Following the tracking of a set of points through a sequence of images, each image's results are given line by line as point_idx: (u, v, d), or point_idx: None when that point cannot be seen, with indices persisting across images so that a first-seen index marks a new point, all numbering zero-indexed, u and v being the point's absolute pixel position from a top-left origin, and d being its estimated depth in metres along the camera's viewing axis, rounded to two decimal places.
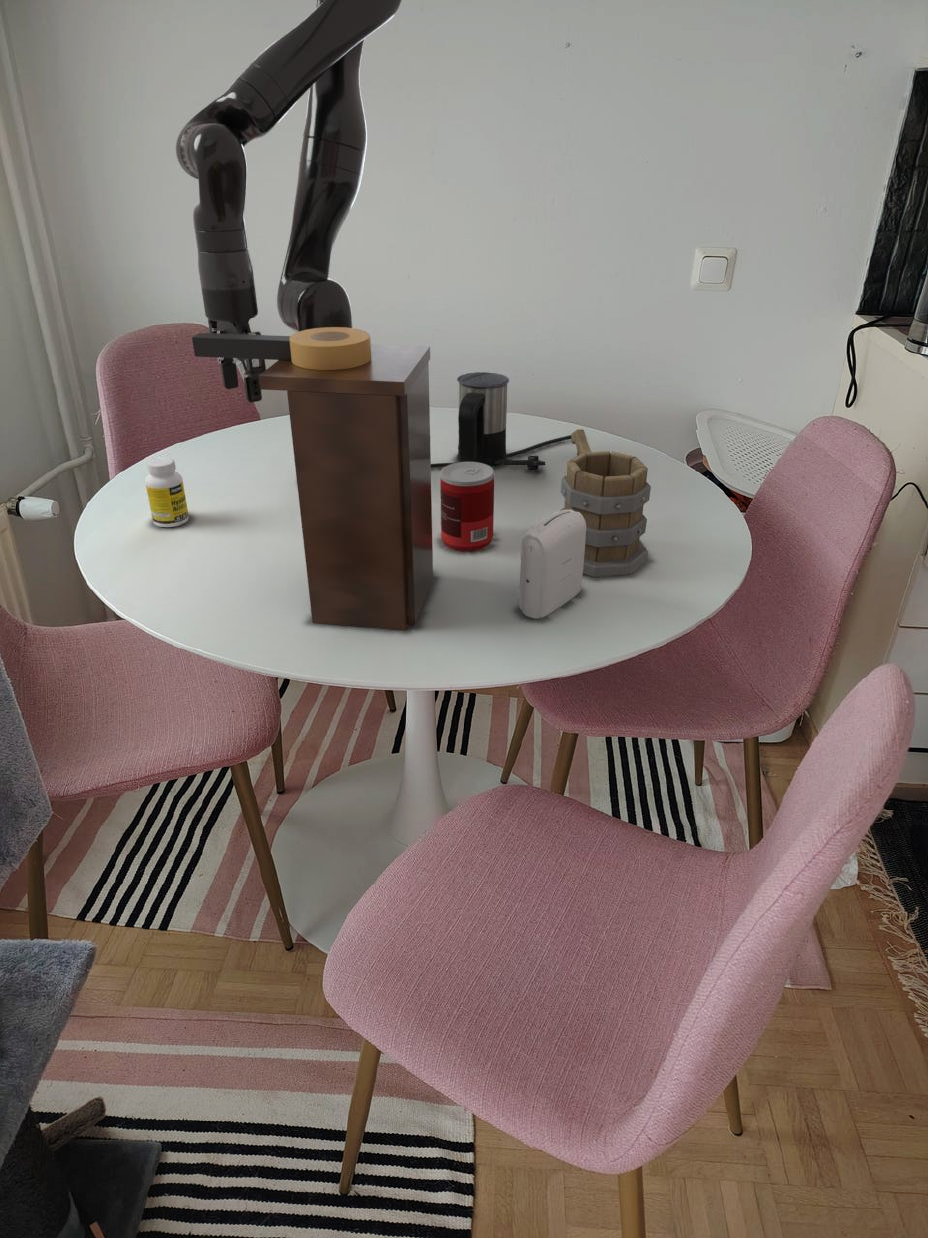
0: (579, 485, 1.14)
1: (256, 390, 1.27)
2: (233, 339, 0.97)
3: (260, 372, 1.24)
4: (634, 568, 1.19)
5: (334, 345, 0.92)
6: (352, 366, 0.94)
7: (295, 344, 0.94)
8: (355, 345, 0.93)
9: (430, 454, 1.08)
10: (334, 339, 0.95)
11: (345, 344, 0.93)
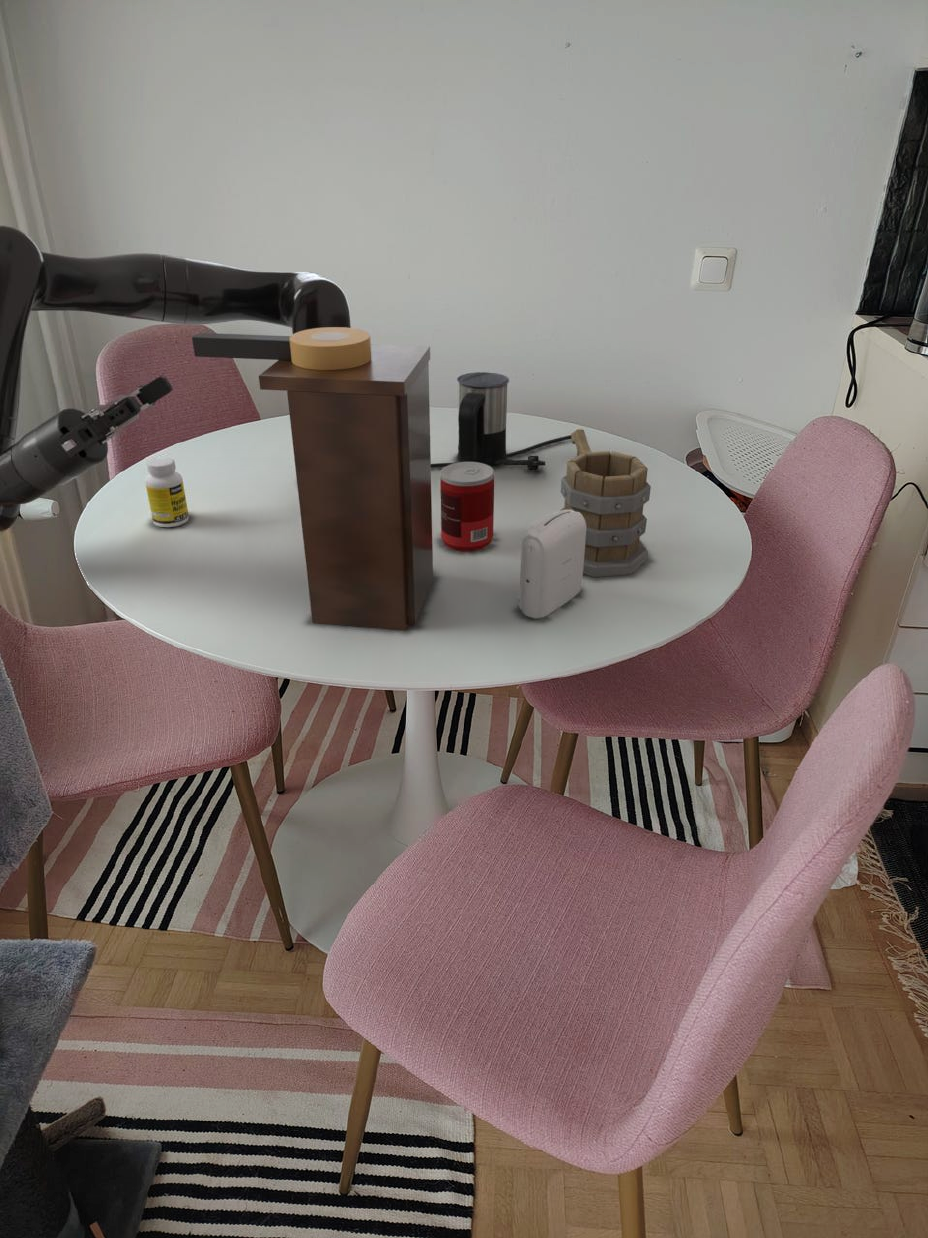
0: (579, 485, 1.14)
1: (119, 412, 0.99)
2: (233, 339, 0.97)
3: (91, 427, 0.98)
4: (634, 568, 1.19)
5: (334, 345, 0.92)
6: (352, 366, 0.94)
7: (295, 344, 0.94)
8: (355, 345, 0.93)
9: (430, 454, 1.08)
10: (334, 339, 0.95)
11: (345, 344, 0.93)
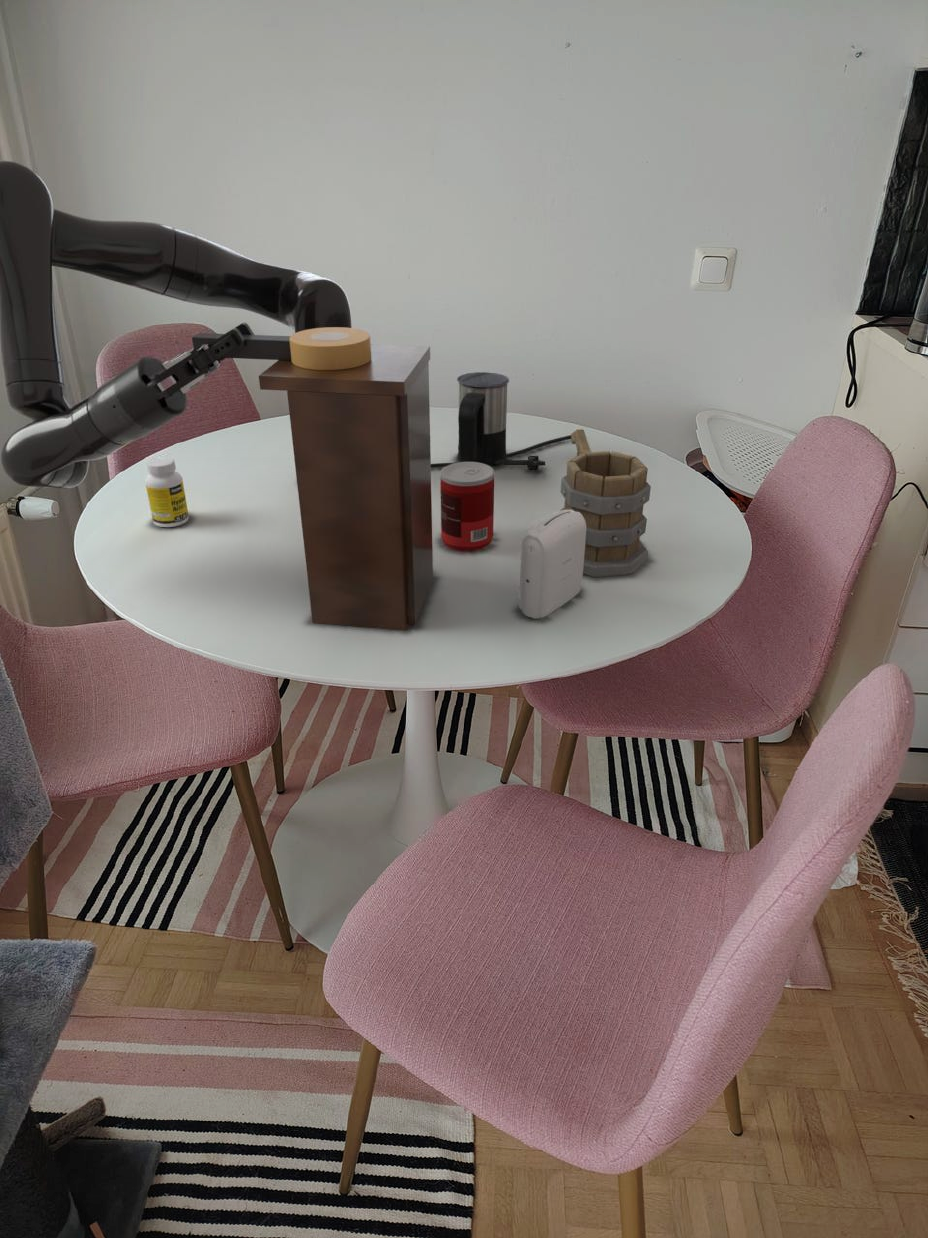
0: (579, 485, 1.14)
1: (224, 345, 0.96)
2: None
3: (197, 360, 0.95)
4: (634, 568, 1.19)
5: (334, 345, 0.92)
6: (352, 366, 0.94)
7: (295, 344, 0.94)
8: (355, 345, 0.93)
9: (430, 454, 1.08)
10: (334, 339, 0.95)
11: (345, 344, 0.93)
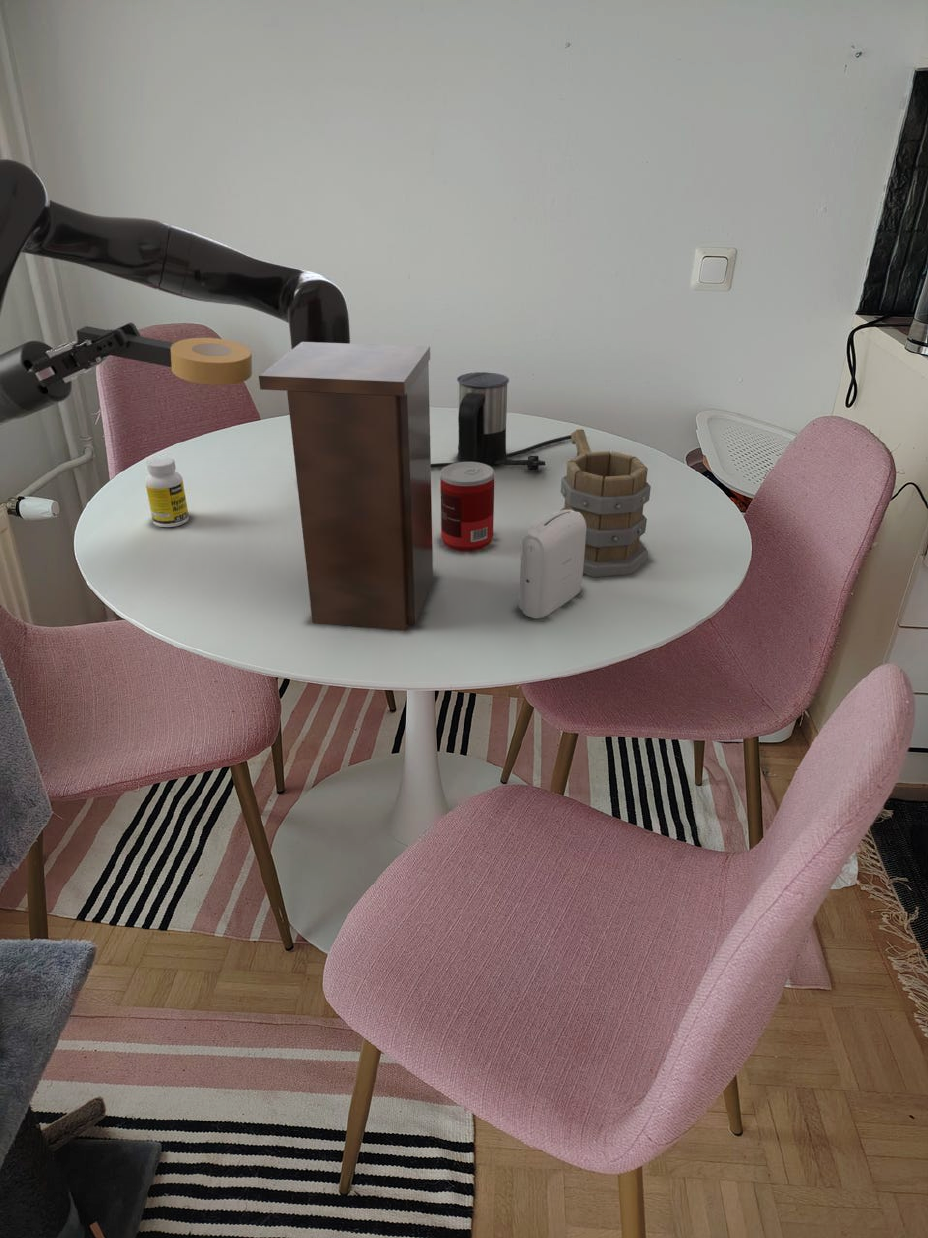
0: (579, 485, 1.14)
1: (107, 344, 0.98)
2: None
3: (77, 355, 0.97)
4: (634, 568, 1.19)
5: (211, 361, 0.95)
6: (228, 383, 0.97)
7: (174, 355, 0.96)
8: (232, 364, 0.96)
9: (430, 454, 1.08)
10: (214, 354, 0.97)
11: (222, 362, 0.96)
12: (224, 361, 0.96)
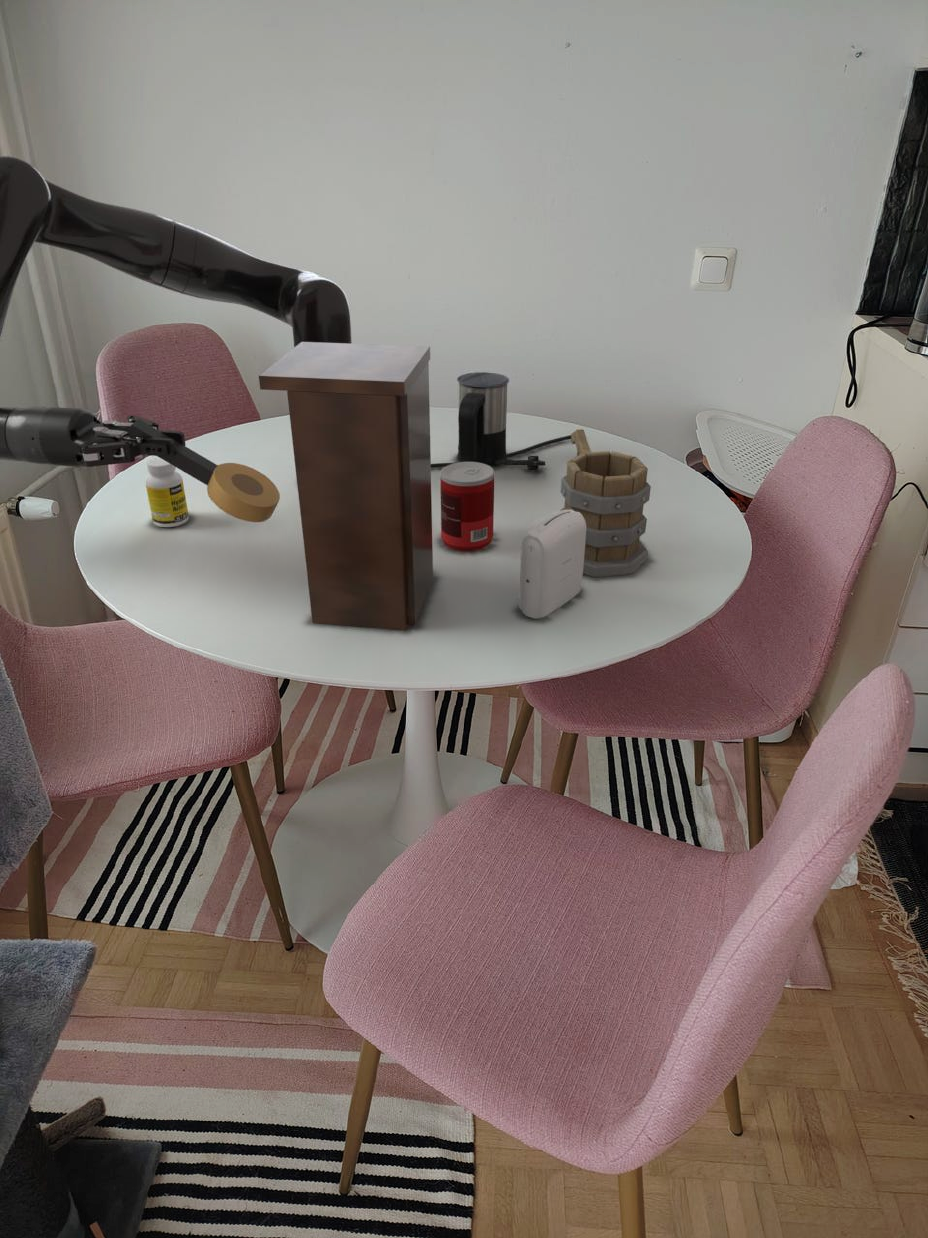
0: (579, 485, 1.14)
1: (157, 449, 1.08)
2: None
3: (127, 451, 1.07)
4: (634, 568, 1.19)
5: (247, 502, 1.09)
6: (254, 521, 1.11)
7: (216, 484, 1.08)
8: (264, 508, 1.10)
9: (430, 454, 1.08)
10: (250, 492, 1.11)
11: (256, 505, 1.09)
12: (258, 504, 1.10)
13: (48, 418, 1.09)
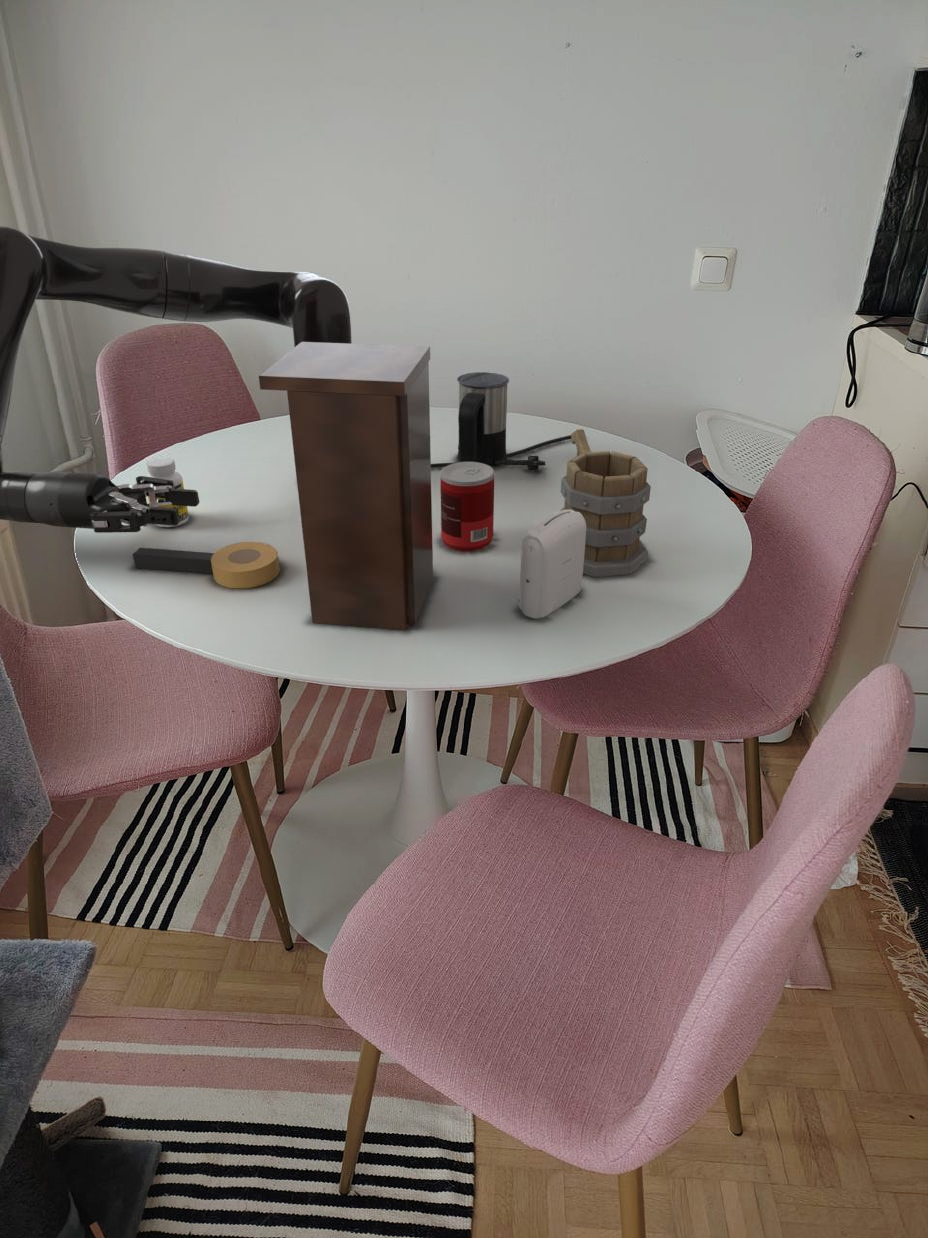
0: (579, 485, 1.14)
1: (161, 518, 1.12)
2: (166, 557, 1.18)
3: (133, 521, 1.10)
4: (634, 568, 1.19)
5: (245, 570, 1.14)
6: (261, 584, 1.16)
7: (214, 567, 1.15)
8: (263, 568, 1.15)
9: (430, 454, 1.08)
10: (247, 561, 1.16)
11: (254, 568, 1.14)
12: (256, 567, 1.15)
13: (66, 484, 1.14)
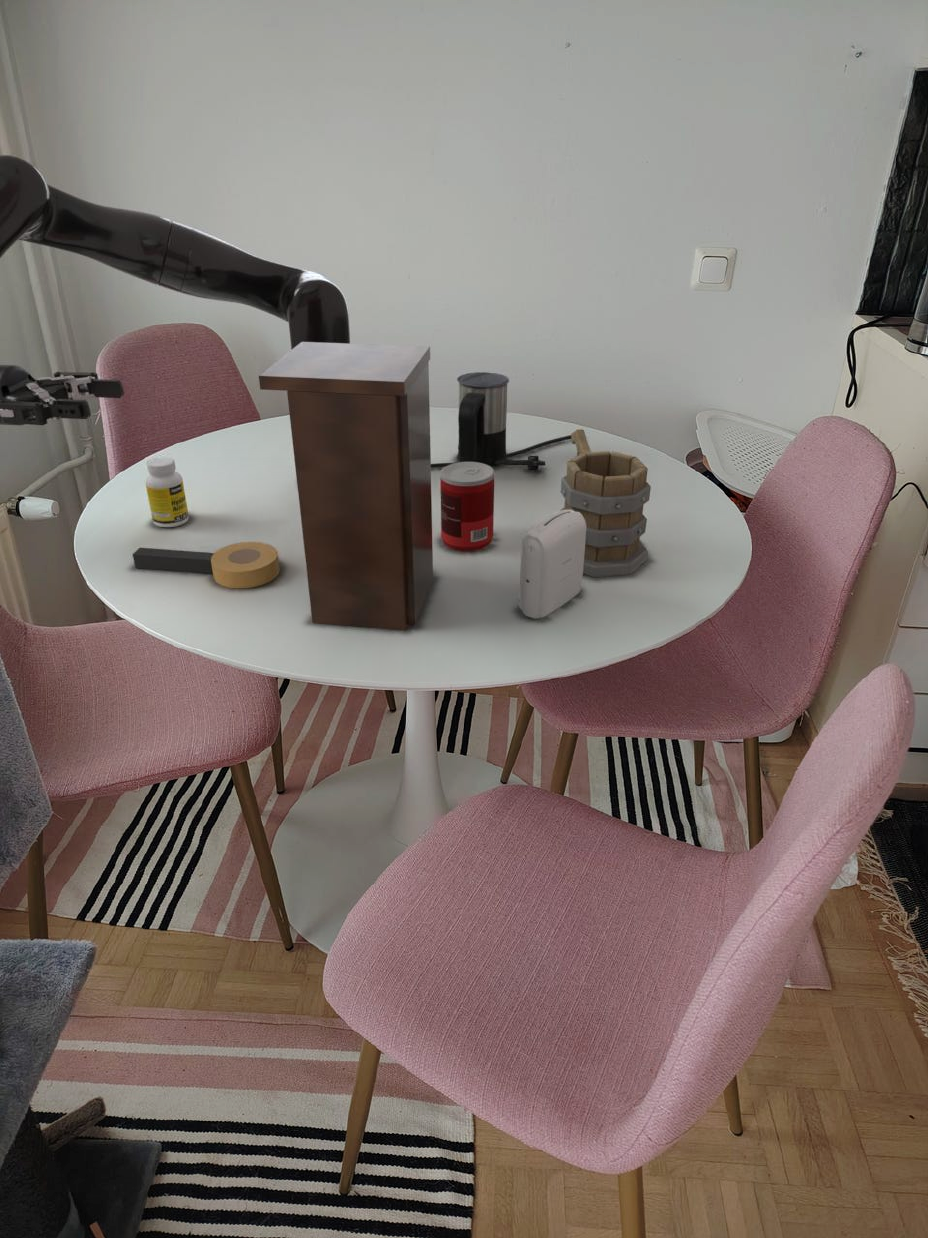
0: (579, 485, 1.14)
1: (69, 410, 1.04)
2: (166, 557, 1.18)
3: (37, 412, 1.03)
4: (634, 568, 1.19)
5: (245, 570, 1.14)
6: (261, 584, 1.16)
7: (214, 567, 1.15)
8: (263, 568, 1.15)
9: (430, 454, 1.08)
10: (247, 561, 1.16)
11: (254, 568, 1.14)
12: (256, 567, 1.15)
13: None
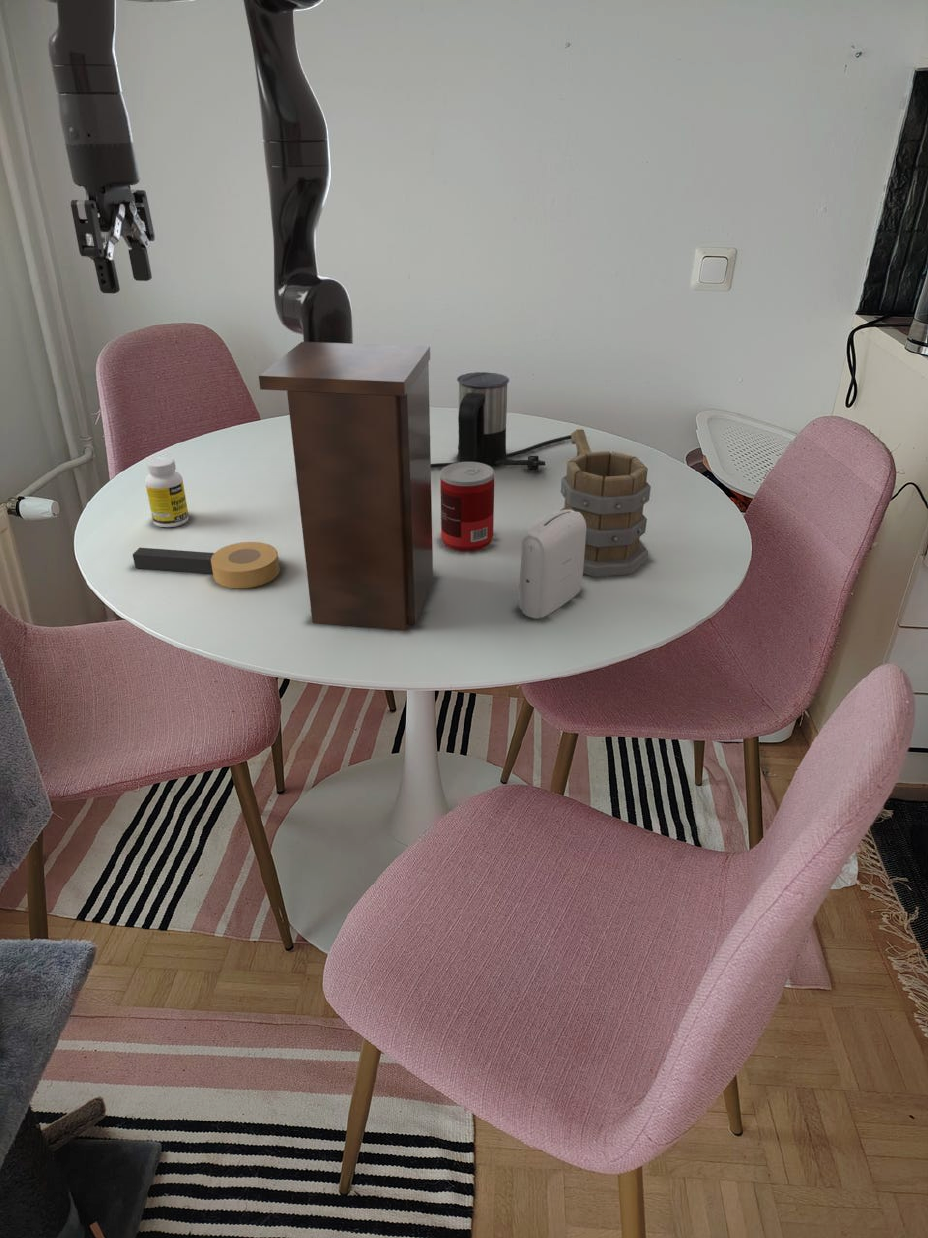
0: (579, 485, 1.14)
1: (103, 278, 1.02)
2: (166, 557, 1.18)
3: (92, 253, 0.99)
4: (634, 568, 1.19)
5: (245, 570, 1.14)
6: (261, 584, 1.16)
7: (214, 567, 1.15)
8: (263, 568, 1.15)
9: (430, 454, 1.08)
10: (247, 561, 1.16)
11: (254, 568, 1.14)
12: (256, 567, 1.15)
13: (117, 152, 0.98)
